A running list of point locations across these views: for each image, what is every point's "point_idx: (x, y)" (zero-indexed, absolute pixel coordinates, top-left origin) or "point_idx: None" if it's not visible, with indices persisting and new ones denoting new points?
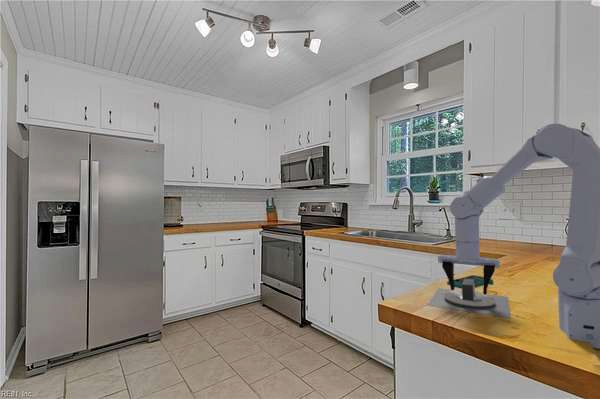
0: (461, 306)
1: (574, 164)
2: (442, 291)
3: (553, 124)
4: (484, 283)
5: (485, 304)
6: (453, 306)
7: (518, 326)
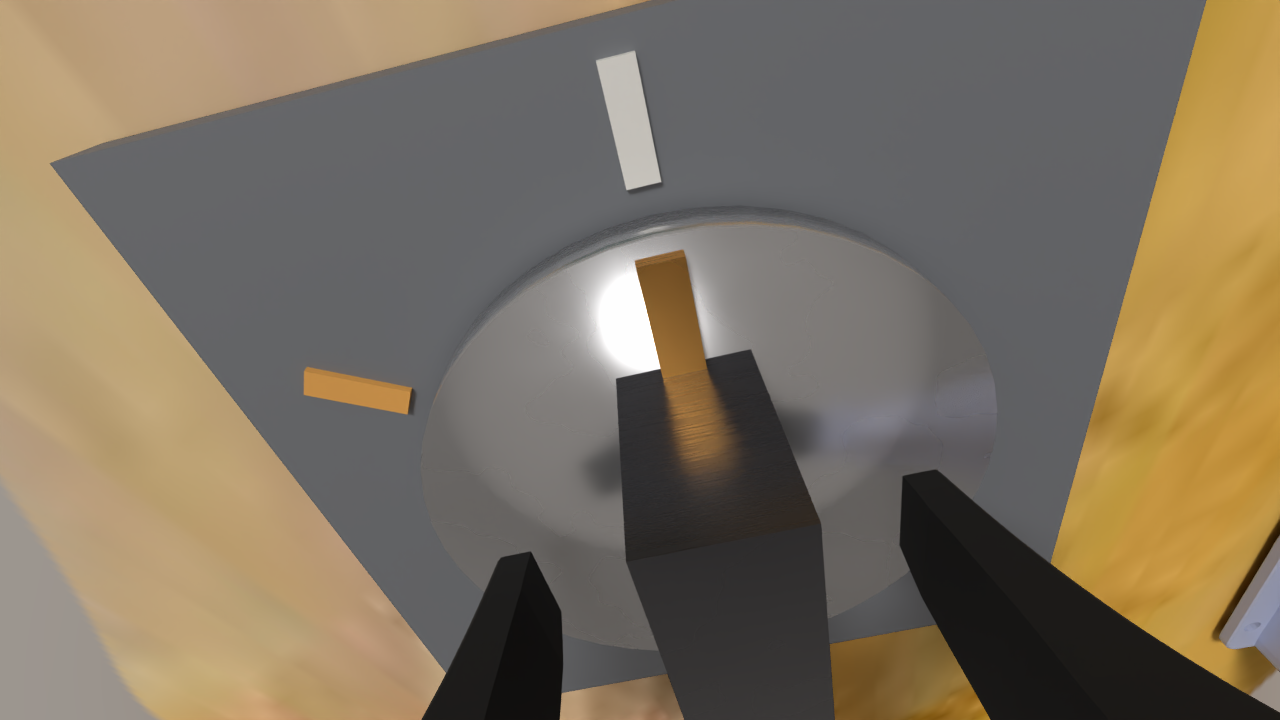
0: None
1: None
2: (263, 311)
3: None
4: (996, 711)
5: (889, 577)
6: None
7: None
